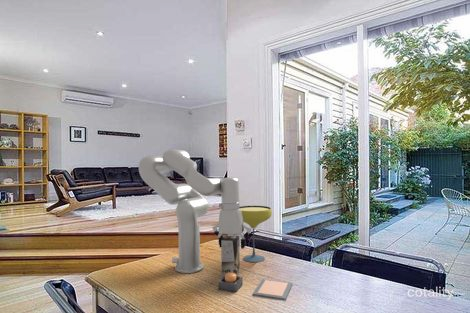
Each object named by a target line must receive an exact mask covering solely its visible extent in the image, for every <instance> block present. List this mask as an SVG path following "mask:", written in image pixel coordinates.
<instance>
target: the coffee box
mask: <svg viewBox="0 0 470 313" xmlns="http://www.w3.org/2000/svg"><path fill="white" fill-rule="evenodd" d="M223 237H224V238H223V239H222V240H221V254H220V255H221V261H220V263H221V279H222V278H223V277H224V276H225V274H226V273H235V274H236V276H238V277H239V275H240V273H241V266H240V265H241V258H240V257H241V255H240V254H241V253H240V251H241V250H240V249H241V239H240V235H226V234H225V236H223Z"/></svg>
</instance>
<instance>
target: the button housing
mask: <svg viewBox="0 0 470 313" xmlns="http://www.w3.org/2000/svg"><path fill="white" fill-rule="evenodd" d="M217 285H218V286H217V290H218V291H224V292H225V291H226V292H232V293H237V292H238V291H239V290H240V289H241V288H242V286H243V276H239V275H238V276H236V283H230V282H225V276H224V277H223V278H222V277H221V278H220V279H219V281H218V282H217Z"/></svg>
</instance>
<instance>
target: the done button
mask: <svg viewBox="0 0 470 313" xmlns="http://www.w3.org/2000/svg"><path fill="white" fill-rule="evenodd" d="M225 282H230V283H236V274H235V273H226V274H225Z"/></svg>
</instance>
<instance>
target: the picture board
mask: <svg viewBox="0 0 470 313" xmlns="http://www.w3.org/2000/svg"><path fill="white" fill-rule="evenodd" d="M292 286H293V282H288V281H287V282H286V281H279V280H271V279H264V278H263V279H261V280H260V282H259V284H258V285H257V287H256V288H255V290H254V291H253V292H252V296H253V297H261V298H262V297H263V298H269V299H275V300H281V301H286V300H287V298H288V296H289V294H290V291H291V288H292Z"/></svg>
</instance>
